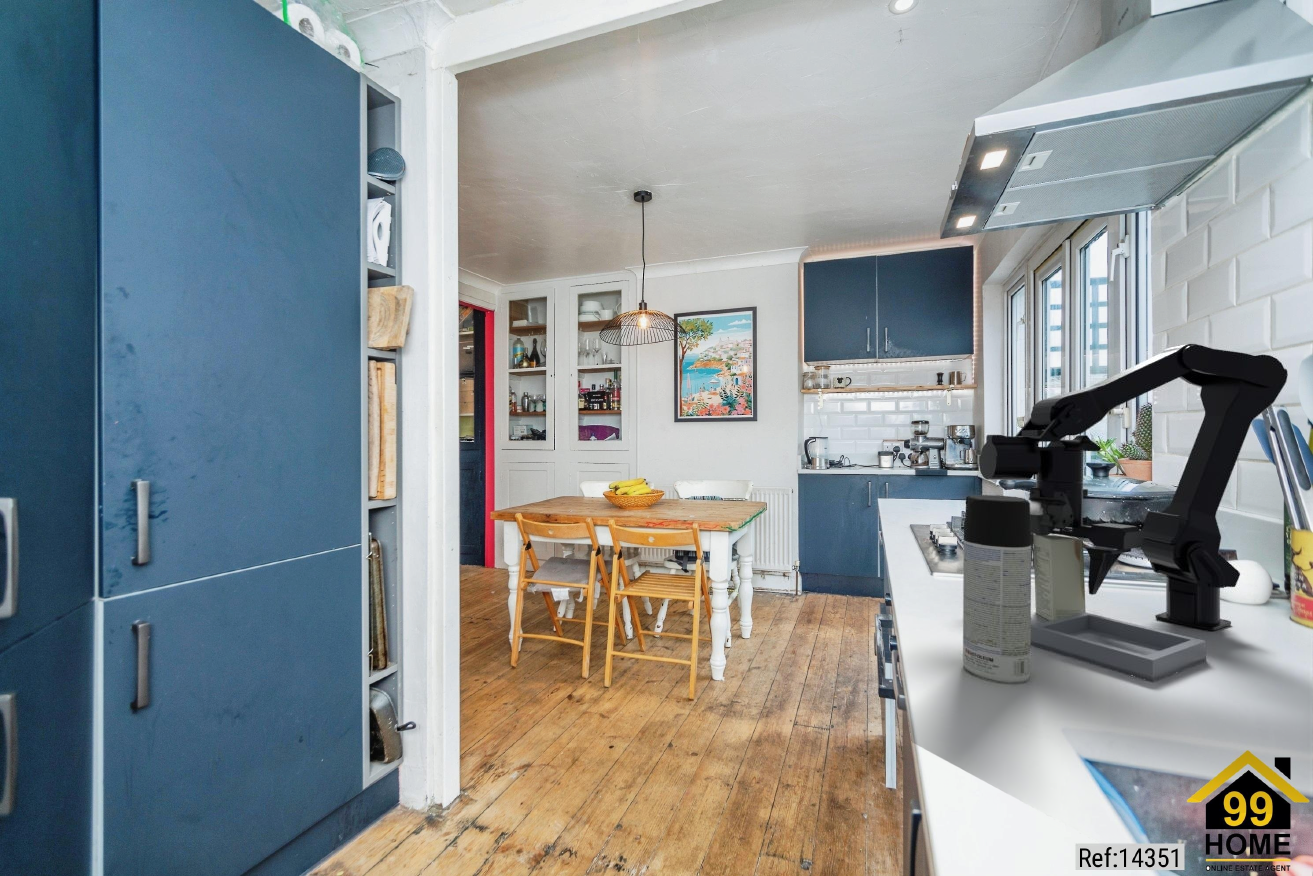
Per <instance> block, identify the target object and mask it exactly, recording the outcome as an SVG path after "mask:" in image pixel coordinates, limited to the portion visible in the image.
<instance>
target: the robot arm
mask: <svg viewBox="0 0 1313 876" xmlns="http://www.w3.org/2000/svg"><path fill="white" fill-rule="evenodd" d="M1288 376H1289V375H1288V370H1287V368H1285V366H1284V365H1283V363H1282V362H1281V360H1279V359H1277V358H1276V357H1274V356H1273V355H1272V356H1271V355H1269V354H1256V355H1254V354H1253V355H1252V354H1250V353H1246V352H1238V351H1233V350H1231V351H1230V350H1225V349H1218V348H1212V347H1208V346H1205V345H1202V344H1196V343H1187V344H1183V345H1182V344H1181V345H1177V346H1172V347H1168V348H1166V349H1164V350H1163V351H1161V352H1160V353H1159V354H1156V355H1154V356H1153V357H1150V358H1149V359H1146V360H1145V361H1142V362H1140V363H1137V364H1135V365H1133V366H1131V367H1128V368H1127V369H1125V370H1123V371H1121V372H1119V373H1116V374H1114V375H1112V376H1110V377H1108V378H1105V379H1104V380H1102V381H1099V382H1097V383H1095V384H1092V385H1091V386H1089V387H1084V388H1082V389H1078V390H1074V391H1070V392H1065V393H1062V394H1058V395H1054V396H1051V397H1047V398H1043V399H1041V400H1039V401H1038V402H1036V403H1035V404H1034V405H1033V406H1032V410H1031V413H1030V417H1029V419H1028V420H1027V421H1026V422H1025V424H1024V425H1023V426H1022V428H1021V429H1019V431H1018V432H1017V433H1016V434H1015V436H1012V435H1011V436H1009V435H1004V434H987V435H986V437H985V438H986V442H985V443H984V444H983V446H982V448H981V451H980V455H979V456H978V466H979V471H980V474H981V477H983V478H984V479H985V480H988V481H990V480H991V481H992V480H993V481H995V480H999V481H1029V480H1031V479H1032V478H1033V477H1034V475H1035V479H1036V480H1035V483H1036V484H1035V486H1034V487H1031V486H1030V490H1029V497H1028V499H1027V500H1028V501H1029V502H1030V526H1031V566H1032V565H1033V562H1032V561H1033V554H1034V542H1033V534H1036V535H1040V536H1044V535H1049V534H1058V535H1065V536H1069V537H1073V538H1078V539H1086V540H1089V541H1090V543H1092V545H1093V546H1087V547H1086V548H1085V549H1086V552H1087V553H1088V556H1089V568H1088V579H1087V580H1088V583H1087V585H1088V586H1087V587H1088V593H1089V595H1091V596H1093V595H1096V594H1097V593H1098V591H1099V589H1100V587H1101V586H1102V584H1103V582H1104V580H1105V579H1106V578H1107V576H1108V573H1109V572H1110V571H1111V568H1112V567H1113V566H1114V564H1115V563H1116V561H1117V560H1118V559H1119V558H1120V557H1121V555H1122V554H1124V553H1131V552H1132V550H1133V549H1138V548H1140V550H1141V551H1142V554H1143V555H1144V557H1146V559H1148V561H1149V563H1150V566H1151V568H1152V571H1153V572H1154V573H1156V574H1161V575H1165V576H1166V577H1165V581H1166V582H1165V584H1166V585H1165V587H1166V588H1165V591H1166V593H1165V596H1166V597H1165V598H1166V600H1165V605H1166V606H1165V609H1166V611H1165V612H1160V613H1158V614H1155V619H1157V620H1161V621H1166V622H1170V623H1174V624H1179V625H1184V626H1187V627H1193V628H1197V629H1202V630H1206V631H1216V630H1220V629H1222V628H1224V627H1228V626H1231V625H1232V621H1231V620H1229V619H1222V618H1221V589H1224V588H1235V587H1236V586H1237V583H1238V581H1239V578H1240V575H1241V573H1240V571H1239V570H1238V569H1237V568H1236V567H1234V566H1233V565H1232V564H1231V563H1230V562H1229V561H1228V560H1227V559H1226V558H1225V557H1224V556H1223V555H1221V554H1220V547H1221V541H1222V535H1221V532H1220V528H1219V525H1218V520H1217V513H1218V509H1219V507H1220V504H1221V502H1222V499H1223V497H1224V494H1225V491H1226V489H1227V486H1228V484H1229V482H1230V479H1231V477H1232V473H1233V471H1234V468H1235V466H1236V463H1237V460H1238V458H1239V455H1240V453H1241V450H1242V448H1243V445H1244V442H1245V441H1246V437H1247V435H1248V433H1249V430H1250V427H1251V424H1252V422H1253V421H1254V420H1255V419H1256V418H1258V417H1259V416H1260V415H1261V414H1262V413H1263V412H1264V411H1266V410H1267V409H1268V408H1269V407H1270V406H1272V405H1273V404H1274V403H1275V402H1276V400H1277V398H1278V397H1279V395H1280V393H1281V392H1282V390H1283V388H1284V387H1285V385H1286V383H1287V381H1288V380H1287V379H1288ZM1178 378H1179V379H1181V380H1183V381H1184V382H1185V383H1186V384H1187V383H1188V384H1190V385H1191V386H1192V385H1193V386H1196V387H1198V388H1201V389H1200V394H1199V395H1200V399H1201V403H1202V407H1203V410H1204V417H1203V419H1202V422H1201V425H1200V428H1199V429H1198V432H1197V435H1196V437H1195V440H1194V442H1193V445H1192V447H1191V448H1192V449H1191V451H1190V453H1189V455H1188V459H1187V461H1186V464H1185V467H1184V469H1183V470H1182V471H1183V472H1182V474H1181V476H1180V479H1179V483H1178V484H1177V487H1176V490H1175V492H1174V495H1173V498H1172V500H1171V502H1170V504H1169V505H1168V506H1166V507H1165V509H1163V510H1162V511H1161V512H1159V511H1158V512H1157V511H1152V510H1150V511H1148V512H1147V513H1146V515H1145V520H1144V523H1143V526H1142V528H1141V529H1140V528H1139V527H1138V526H1136V525H1129V524H1119V523H1111V522H1110V523H1109V522H1106V523H1097V524H1094V523H1093V524H1091V525H1088V516H1083V515H1084V514H1083V513H1084V511H1083V509H1084V501H1083V500H1084V497H1088V494H1089V492H1088V491H1089V489H1088V488H1084V458H1085V456H1084V453H1085V452H1100V451H1101V449H1102V447H1101V446H1100V445H1098V444H1097V443H1096V442H1094V441H1093V440H1092V439H1090V437H1089V435H1087V434H1084V433H1085V432H1086V431H1088V430H1089V429H1091V428H1093V427H1094V426H1095V425H1097V424H1098V423H1099V422H1101V421H1103V419H1104V418H1105V417H1106V415H1108V414H1109V412H1110V411H1112V410H1114V409H1115V408H1117V407H1118V406H1121V405H1123V404H1125V403H1127V402H1129V401H1131V400H1134V399H1135V398H1138V397H1140V396H1142V395H1145V394H1147V393H1149V392H1151V391H1154V390H1155V389H1157V388H1159V387H1162V386H1163V385H1166V384H1168V383H1170V382H1172V381H1174V380H1177V379H1178ZM1081 434H1083V435H1081ZM1067 436H1075V437H1074V438H1073V439H1064V438H1066V437H1067ZM1040 442H1041V443H1045V442H1046V443H1048V444H1047V446H1039V443H1040Z"/></svg>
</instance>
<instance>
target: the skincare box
mask: <svg viewBox="0 0 1313 876" xmlns="http://www.w3.org/2000/svg"><path fill="white" fill-rule="evenodd" d="M1084 558H1085V556H1084V540H1083V539H1081V538H1078V537H1072V536H1065V535H1058V534H1051V533H1050V534H1049V535H1044V536H1040V535H1036V534H1033V566H1034V568H1033V569H1034V594H1035V595H1034V597H1035V600H1034V601H1035V613H1036V614H1037V613H1038V615H1039V616H1041V617H1042V618H1044V619H1046V620H1048V621H1051V620H1055V619H1059V618H1063V617H1067V616H1071V615H1075V614H1079V613H1083V612H1086V613H1087V611H1086V587H1085V563H1084V562H1085V561H1084Z"/></svg>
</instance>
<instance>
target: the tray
mask: <svg viewBox="0 0 1313 876" xmlns="http://www.w3.org/2000/svg"><path fill="white" fill-rule="evenodd" d="M1031 647H1035V648H1038V649H1042V650H1044V651H1048V652H1051V653H1054V654H1057V655H1060V656H1065V657H1067V658H1070V659H1074V660H1077V661H1080V662H1084V663H1086V664H1087V663H1088V664H1091V665H1095V666H1098V667H1101V668H1104V669H1107V670H1111V671H1114V672H1118V673H1121V674H1124V675H1127V676H1130V675H1133V676H1135V677H1134V678H1137V677H1138V678H1137V679H1140V678H1141V680H1143V679H1145V680H1144V681H1147V680H1148V682H1150V681H1151V682H1150V683H1155V682H1157V681H1160V680H1163V679H1165V678H1167V677H1166V676H1168V677H1170V676H1172V674H1173V675H1175V674H1177V673H1176V672H1178V673H1180V672H1183V671H1186V670H1188V669H1190V668H1193V667H1195V666H1198V665H1200V664H1203V663H1206V662H1207V640H1203V639H1198V638H1194V637H1190V636H1187V635H1186V636H1185V635H1183V634H1177V633H1173V632H1169V631H1165V630H1161V629H1157V628H1153V627H1149V626H1144V625H1139V624H1136V623H1132V622H1128V621H1124V620H1119V619H1114V618H1111V617H1106V616H1102V615H1097V614H1095V613H1089V612H1087V611H1086V612H1083V613H1079V614H1075V615H1071V616H1067V617H1063V618H1059V619H1055V620H1051V621H1049V620H1048V621H1043V622H1040V623H1036V624H1031ZM1187 668H1188V669H1187ZM1174 673H1175V674H1174ZM1169 675H1170V676H1169ZM1133 676H1132V677H1133ZM1164 677H1165V678H1164ZM1162 678H1163V679H1162ZM1159 679H1160V680H1159ZM1156 680H1157V681H1156ZM1154 681H1155V682H1154Z"/></svg>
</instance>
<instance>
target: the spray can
mask: <svg viewBox="0 0 1313 876" xmlns="http://www.w3.org/2000/svg"><path fill="white" fill-rule="evenodd" d="M1028 500H1029V499H1027V498H1023V497H1017V496H1010V495H1009V496H1008V495H988V494H974V495H968V496H966V498H965V512H964V513H965V518H964V521H963V547H962V548H963V550H962V551H963V557H962V558H963V560H962V561H963V562H962V563H963V567H962V571H963V573H962V574H963V576H962V578H963V579H962V580H963V581H962V582H963V583H962V584H963V586H962V587H963V588H962V590H963V592H962V593H963V594H962V595H963V599H962V612H963V613H962V664H963V665H962V666H963V668H964V670H965V671H966V672H967V673H968V674H969V675H971V676H974V677H977V678H979V679H982V680H985V681H988V682H993V683H999V684H1011V685H1012V684H1013V685H1015V684H1024V683H1026V682H1027V681H1028V680H1029V679H1030V675H1031V650H1032V649H1031V647H1032V646H1031V625H1032V622H1031V620H1032V619H1031V618H1032V616H1031V615H1032V614H1031V613H1032V612H1031V611H1032V565H1031V526H1030V502H1029V501H1028Z"/></svg>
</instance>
